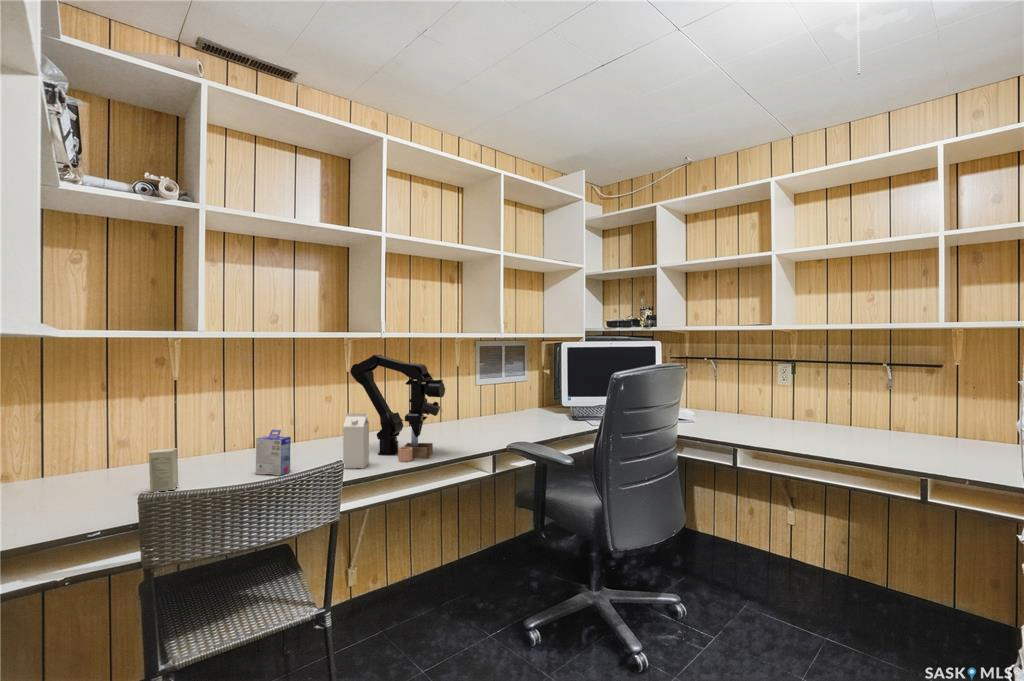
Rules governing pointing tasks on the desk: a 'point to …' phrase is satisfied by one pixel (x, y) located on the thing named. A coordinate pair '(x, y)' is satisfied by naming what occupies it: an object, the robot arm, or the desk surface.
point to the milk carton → (356, 440)
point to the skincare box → (163, 469)
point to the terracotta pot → (405, 454)
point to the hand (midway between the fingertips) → (417, 436)
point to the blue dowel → (414, 440)
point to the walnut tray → (422, 450)
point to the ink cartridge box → (273, 454)
